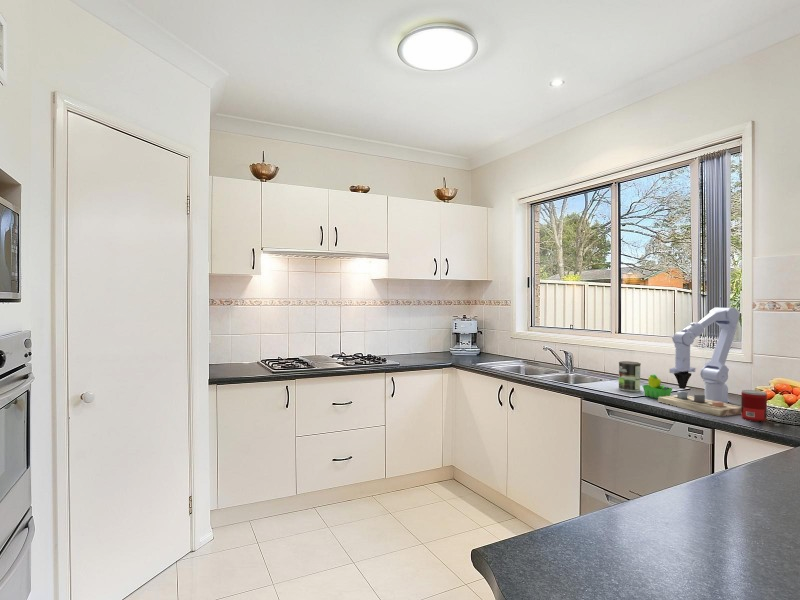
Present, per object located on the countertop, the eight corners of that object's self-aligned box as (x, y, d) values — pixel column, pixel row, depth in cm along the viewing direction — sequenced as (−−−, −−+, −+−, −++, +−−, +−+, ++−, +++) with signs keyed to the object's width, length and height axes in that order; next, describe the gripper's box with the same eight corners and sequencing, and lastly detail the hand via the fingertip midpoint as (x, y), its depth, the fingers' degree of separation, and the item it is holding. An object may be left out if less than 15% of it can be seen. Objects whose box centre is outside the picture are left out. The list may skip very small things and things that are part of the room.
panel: (682, 399, 223) (682, 394, 223) (745, 413, 197) (745, 407, 197) (657, 402, 217) (658, 396, 217) (719, 416, 191) (719, 410, 191)
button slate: (681, 398, 217) (681, 390, 217) (689, 400, 213) (689, 392, 213) (675, 399, 215) (675, 391, 215) (683, 400, 212) (683, 392, 212)
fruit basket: (673, 399, 224) (673, 375, 224) (661, 400, 220) (661, 376, 220) (651, 394, 235) (651, 371, 235) (639, 396, 231) (639, 372, 231)
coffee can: (625, 391, 241) (626, 364, 241) (614, 387, 251) (614, 361, 251) (644, 391, 242) (645, 363, 242) (632, 387, 252) (633, 361, 252)
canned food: (770, 422, 182) (771, 394, 182) (747, 421, 184) (747, 393, 184) (759, 417, 190) (760, 390, 190) (737, 416, 191) (737, 389, 191)
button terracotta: (716, 409, 202) (716, 400, 202) (725, 411, 198) (725, 402, 198) (710, 409, 201) (710, 401, 201) (719, 412, 197) (719, 403, 197)
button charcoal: (698, 401, 209) (698, 393, 209) (707, 403, 206) (707, 395, 206) (692, 402, 208) (692, 394, 208) (700, 404, 204) (701, 396, 204)
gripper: (679, 360, 208) (679, 391, 208) (702, 358, 213) (701, 389, 213) (665, 358, 214) (664, 388, 214) (687, 357, 220) (686, 386, 220)
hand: (682, 388), depth 214 cm, fingers closed
